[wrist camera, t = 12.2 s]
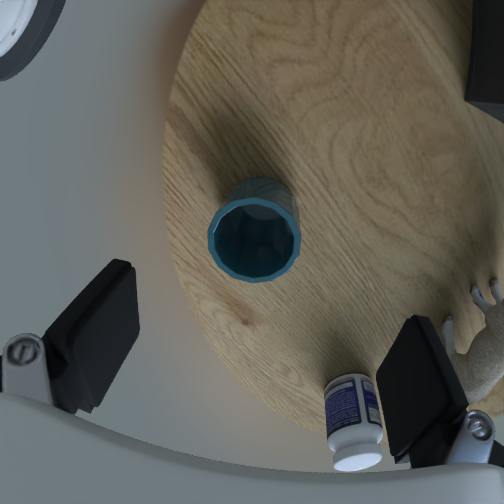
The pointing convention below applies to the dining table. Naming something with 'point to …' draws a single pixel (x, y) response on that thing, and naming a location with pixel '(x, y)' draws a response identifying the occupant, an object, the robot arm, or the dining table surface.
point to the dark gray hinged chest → (487, 58)
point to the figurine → (480, 348)
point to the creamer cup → (256, 231)
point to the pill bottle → (353, 422)
